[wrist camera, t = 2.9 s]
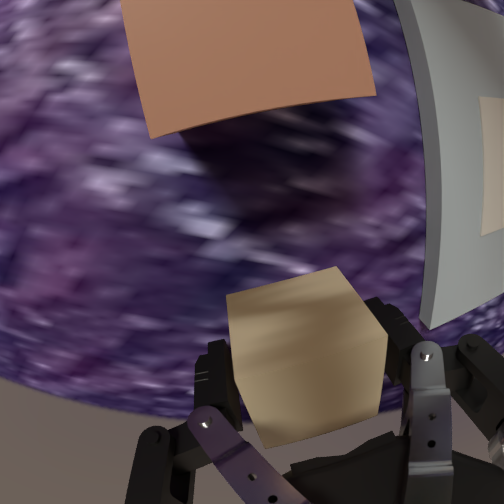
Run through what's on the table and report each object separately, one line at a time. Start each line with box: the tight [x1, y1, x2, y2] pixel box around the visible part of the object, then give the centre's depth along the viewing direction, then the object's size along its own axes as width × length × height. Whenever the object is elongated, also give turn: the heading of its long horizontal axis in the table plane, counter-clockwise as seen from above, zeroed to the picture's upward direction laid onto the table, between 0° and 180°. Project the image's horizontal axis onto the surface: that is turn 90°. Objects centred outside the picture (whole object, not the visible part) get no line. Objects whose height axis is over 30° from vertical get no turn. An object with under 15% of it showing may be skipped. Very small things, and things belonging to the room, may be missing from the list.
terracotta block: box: [120, 0, 376, 139], centre depth 7 cm, size 5×5×5 cm
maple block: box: [226, 266, 388, 449], centre depth 12 cm, size 5×5×5 cm
